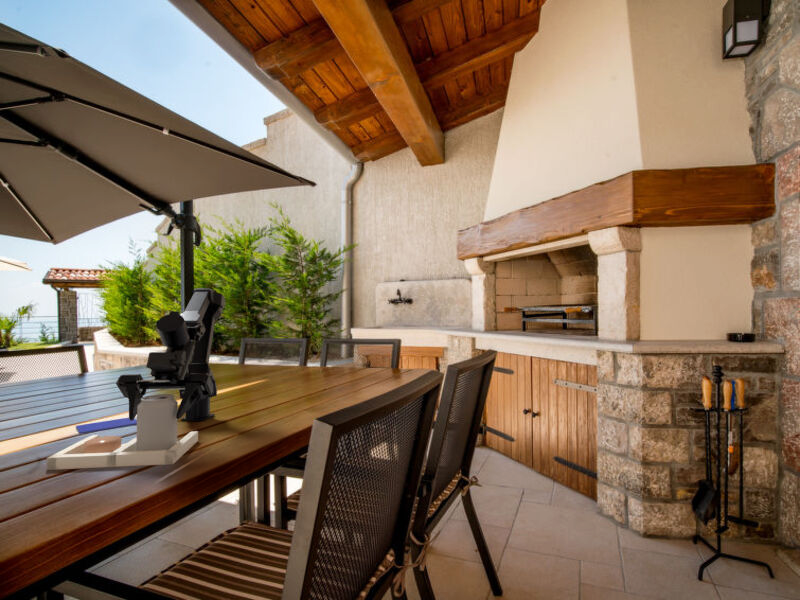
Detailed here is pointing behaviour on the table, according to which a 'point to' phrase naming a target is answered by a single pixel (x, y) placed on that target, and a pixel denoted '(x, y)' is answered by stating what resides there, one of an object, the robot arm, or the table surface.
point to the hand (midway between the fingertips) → (154, 418)
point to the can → (156, 423)
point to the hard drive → (105, 425)
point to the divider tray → (118, 455)
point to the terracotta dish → (102, 444)
